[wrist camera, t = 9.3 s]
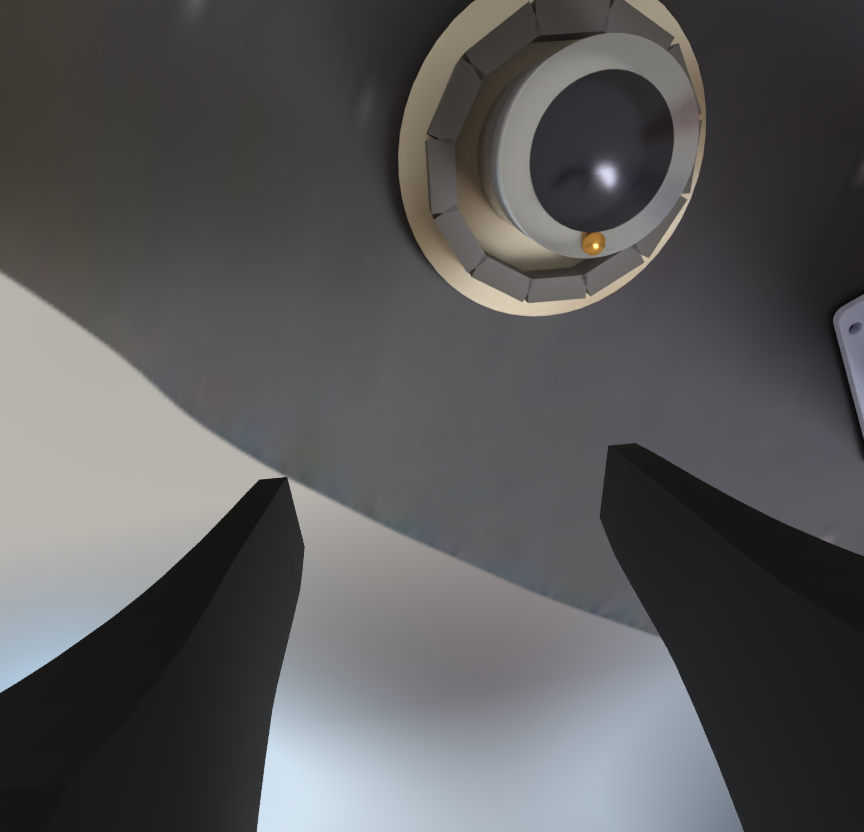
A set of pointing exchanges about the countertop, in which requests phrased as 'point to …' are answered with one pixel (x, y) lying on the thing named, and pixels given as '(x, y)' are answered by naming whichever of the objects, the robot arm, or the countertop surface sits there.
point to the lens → (590, 145)
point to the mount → (458, 140)
